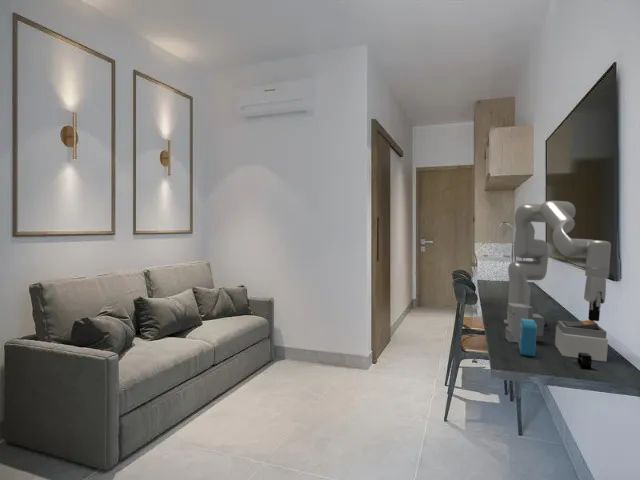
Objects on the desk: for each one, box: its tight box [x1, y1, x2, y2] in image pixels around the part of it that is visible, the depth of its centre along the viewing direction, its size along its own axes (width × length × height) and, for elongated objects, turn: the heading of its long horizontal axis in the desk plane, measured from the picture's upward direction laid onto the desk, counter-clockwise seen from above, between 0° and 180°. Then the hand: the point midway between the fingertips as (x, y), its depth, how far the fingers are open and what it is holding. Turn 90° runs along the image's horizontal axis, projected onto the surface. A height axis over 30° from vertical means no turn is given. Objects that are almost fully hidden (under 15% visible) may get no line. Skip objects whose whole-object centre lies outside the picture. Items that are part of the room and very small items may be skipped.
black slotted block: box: [571, 352, 599, 372], centre depth 145 cm, size 12×7×5 cm, turn 166°
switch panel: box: [554, 320, 609, 362], centre depth 161 cm, size 16×14×10 cm
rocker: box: [564, 319, 599, 329], centre depth 161 cm, size 7×10×2 cm
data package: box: [518, 318, 537, 358], centre depth 158 cm, size 12×4×12 cm, turn 158°
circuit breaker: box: [505, 303, 548, 344], centre depth 174 cm, size 8×14×15 cm, turn 78°
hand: (593, 320), depth 159 cm, fingers closed
